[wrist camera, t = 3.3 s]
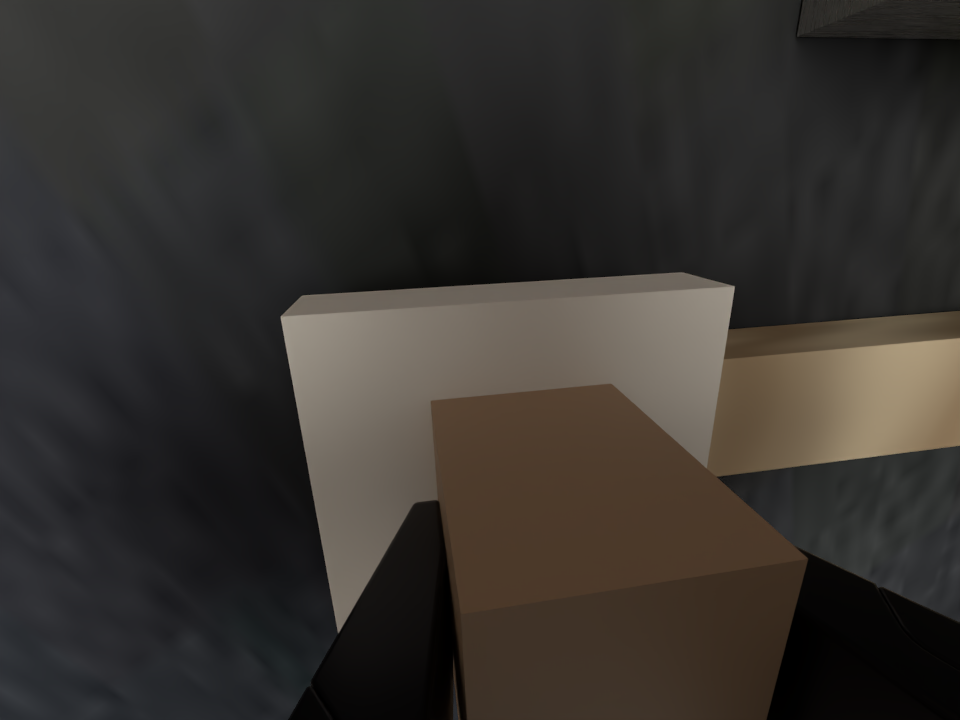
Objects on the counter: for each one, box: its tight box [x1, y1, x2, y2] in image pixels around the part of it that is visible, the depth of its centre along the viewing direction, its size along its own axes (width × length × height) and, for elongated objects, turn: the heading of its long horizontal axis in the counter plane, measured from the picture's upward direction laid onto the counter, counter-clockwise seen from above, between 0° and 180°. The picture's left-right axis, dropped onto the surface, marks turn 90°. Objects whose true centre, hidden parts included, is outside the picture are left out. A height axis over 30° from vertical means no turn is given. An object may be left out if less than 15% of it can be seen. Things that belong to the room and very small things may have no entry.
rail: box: [707, 311, 960, 477], centre depth 12 cm, size 19×3×2 cm, turn 92°
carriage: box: [281, 272, 808, 720], centre depth 8 cm, size 7×7×8 cm
